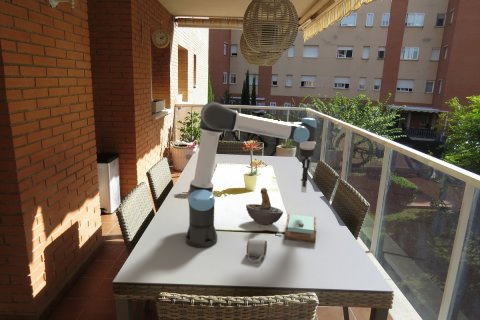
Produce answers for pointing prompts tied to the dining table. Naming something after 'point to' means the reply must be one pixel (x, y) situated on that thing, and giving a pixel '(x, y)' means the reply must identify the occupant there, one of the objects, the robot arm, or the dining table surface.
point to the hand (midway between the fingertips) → (303, 191)
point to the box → (300, 234)
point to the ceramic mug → (256, 249)
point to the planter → (264, 210)
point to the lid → (301, 224)
